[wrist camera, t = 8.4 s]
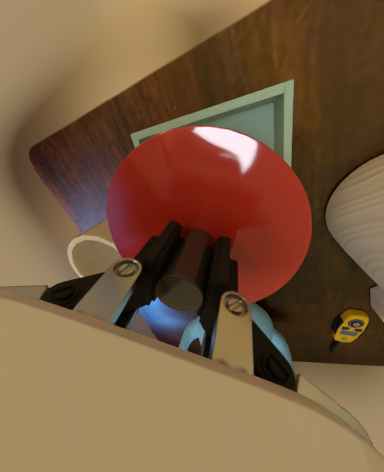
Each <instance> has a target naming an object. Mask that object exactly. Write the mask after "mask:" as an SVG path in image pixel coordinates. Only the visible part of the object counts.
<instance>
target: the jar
mask: <svg viewBox="0 0 384 472" xmlns="http://www.w3.org/2000/svg"><path fill="white" fill-rule="evenodd" d="M370 303H371V307H372V308H373V309H374V310H375V312H376V313H377V314H378V316H379V317H380V318H381V319H382V321H383V322H384V291H383V290H382V288H381V287H380V286H379V285H377V286H375V287H373V288H370Z"/></svg>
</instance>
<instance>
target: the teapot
mask: <svg viewBox="0 0 384 472" xmlns="http://www.w3.org/2000/svg"><path fill="white" fill-rule="evenodd" d="M250 305H251V312H252V319H253V321H254V322H255V323H256V324H257V325H258V326H259V328H260V329H261V330H262V331H263V332H264V333H265V335H266V336H267V337H268V338H269V339H270V341H271V342H272V343H273V344H274V345H275V346H276V348H277V349H278V350H279V351H280V352H281V353H282V355H283V356H284V357H285V358H286V359H287V361H288V362H289V364H290V365H291V367H292V369H293V371H294V373H296V371H295V369H294V366H293V362H292V358H291V354H290V351H289V347H288V345H287V342H286V341H285V339H284V338H283V336H282V335H281V334H280V333H279V332H278V331H277V330H275V329H274V328H273V325H272V321H271V318H270V317H269V315H268V314H267V312H266V311H265V310H264V309H263V308H261V307H260V306H259V305H257V304H256V303H255V302H253V303H250ZM199 320H200V316H198V317H197V318H196V319H194V320H192V321H191V322H190V323H189V324H188V325H187V327H186V329H185V331H184V333H183V336H182V339H181V342H180V345H179V347H178V348H180V349H183V350H185V351H187V349H188V347H189V345H190V343H191V342H192V341H193V340H194V339H196V338H198V337H199V340H200V343H201V344H202V340H203V335H204V332H205V331H204V329H203V328H202V326H201V323H199ZM296 374H297V373H296Z"/></svg>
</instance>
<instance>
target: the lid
mask: <svg viewBox="0 0 384 472" xmlns="http://www.w3.org/2000/svg"><path fill="white" fill-rule="evenodd" d="M107 218H108V225H109V229H110V233H111V237H112V239H113V242H114V244H115V246H116V248H117V250H118V252H119V254H120V255H121V257H122V258H133V259H134V257H135V256H136V255H137V254H138V253H139V251H140V250H141V249H142V248H143V247H144V245H145V244H146V243H147V242H148V240H149V239H150V238H151V237H152V236H153V235H155V236H158V237H159V235H160V234H161V233H162V231H163V230H164V229H165V227H166V226H167V225H168V223H169V222H170V221H171V220H173V221H176V222H179V225H182V229H181V234H180V238H179V241H178V243H177V245H176V247H175V248H174V250H173V252H172V254H171V256H170V258H169V259H168V261H167V263H166V265H165V267H164V269H163V271H162V272H161V274H160V276H159V278H158V280H157V282H156V284H155V293H156V295H157V297H158V298H159V300H160V301H161V302H162V303H164V304H165V305H166V306H168V307H170V308H172V309H175V310H178V311H184V312H188V311H194V310H197V309H198V308H200V307H201V305H202V304H203V302H204V297H205V292H206V287H207V281H208V276H209V271H210V266H211V261H212V256H213V250H214V247H215V245H216V242H217V239H218V237H222V235H223V236H226V237H230V238H231V246H230V259H233V260H236V261H238V293H240V294H242V295H243V296H244V297H245V298H246V299H247V300H248V301H249V303H253V302H256V301H259V300H261V299H263V298H265V297H267V296H269V295H271V294H272V293H274V292H275V291H277V290H279V289H280V288H281V287H282V286H283V285H285V284H286V283H287V282H288V281H289V280H290V279H291V278H292V276H293V275H294V274H295V273H296V272H297V270H298V269H299V267H300V266H301V264H302V262H303V260H304V258H305V256H306V254H307V251H308V247H309V244H310V240H311V232H312V217H311V209H310V205H309V201H308V197H307V194H306V192H305V190H304V188H303V186H302V183H301V181H300V180H299V178H298V177H297V175H296V174H295V172H294V171H293V170H292V168H291V167H290V166H289V165H288V164H287V163H286V162H285V161H284V160H283V158H282V157H281V156H280V155H279V154H277V153H276V152H275V151H273V150H272V149H271V148H269V147H268V146H267V145H265V144H264V143H262V142H260V141H258V140H256V139H255V138H253V137H251V136H249V135H247V134H244V133H241V132H238V131H235V130H232V129H228V128H222V127H216V126H205V125H192V126H186V127H179V128H174V129H171V130H168V131H165V132H162V133H159V134H157V135H155V136H153V137H151V138H149V139H147V140H146V141H144V142H143V143H142V144H140V145H139V146H138V147H136V148H135V149H134V150H133V151H132V152H131V153H130V154H129V155H128V156H127V157H126V158H125V159H124V161H123V162H122V164H121V165H120V167H119V168H118V169H117V171H116V173H115V176H114V178H113V180H112V182H111V186H110V189H109V193H108V200H107Z"/></svg>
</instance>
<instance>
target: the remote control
mask: <svg viewBox="0 0 384 472" xmlns="http://www.w3.org/2000/svg"><path fill="white" fill-rule="evenodd" d="M368 321H369V318H368V316H367V315H366V313H365V312H364V311H361V310H355V309H348V310H346V311H344V312H343V313H342V314H341V315H339V316H338V317H337V318H336V319H335V320H334V322H333V324H332V327H331V328H332V332H331V333H332V335H333V337H334V339H335V340H336V342H335V343H334V345H333V346H332V348H331V349H330V350H329V352H330V353H332V352H333V351H334V350H335V348H336V347H337V345H338V344H339V343H340V342H351V341H353V340H354V339H356V338H357V337H358V338H359V337H360V336H361V335H362V334H363V333H364V332H365V331H366V329H367V327H368Z"/></svg>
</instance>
